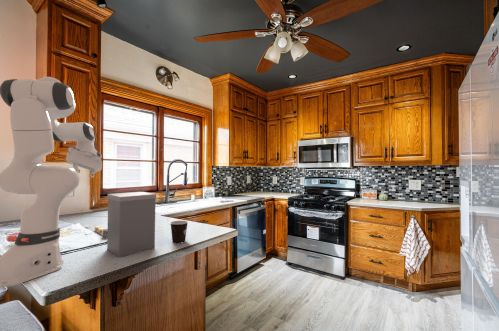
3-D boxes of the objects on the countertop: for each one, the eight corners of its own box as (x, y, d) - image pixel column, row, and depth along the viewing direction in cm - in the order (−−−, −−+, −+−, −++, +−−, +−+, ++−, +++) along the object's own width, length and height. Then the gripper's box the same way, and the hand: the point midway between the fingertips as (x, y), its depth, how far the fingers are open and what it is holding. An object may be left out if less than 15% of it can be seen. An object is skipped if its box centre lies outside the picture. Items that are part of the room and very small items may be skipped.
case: (106, 249, 113) (107, 194, 113) (141, 241, 125) (142, 191, 125) (118, 257, 103) (119, 197, 103) (155, 248, 116) (156, 194, 116)
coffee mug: (179, 237, 133) (180, 219, 133) (190, 240, 128) (191, 222, 128) (161, 243, 123) (162, 223, 123) (172, 246, 118) (172, 226, 118)
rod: (92, 231, 144) (93, 224, 144) (101, 229, 147) (101, 223, 147) (105, 238, 130) (105, 231, 130) (114, 236, 133) (114, 229, 133)
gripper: (73, 143, 125) (72, 168, 121) (104, 156, 144) (104, 177, 140) (63, 146, 126) (62, 171, 122) (94, 158, 145) (94, 180, 141)
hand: (84, 175), depth 131 cm, fingers open, 8 cm apart
